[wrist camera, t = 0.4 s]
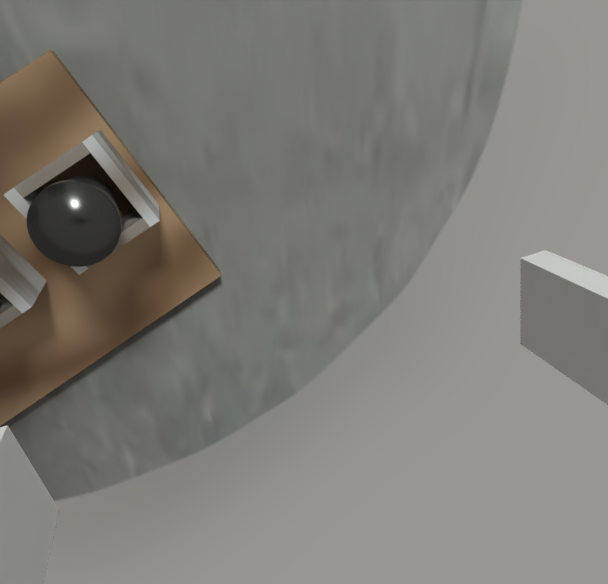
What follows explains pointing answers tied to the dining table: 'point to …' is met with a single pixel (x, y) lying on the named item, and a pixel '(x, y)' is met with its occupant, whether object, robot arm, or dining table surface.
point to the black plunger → (75, 221)
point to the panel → (67, 279)
